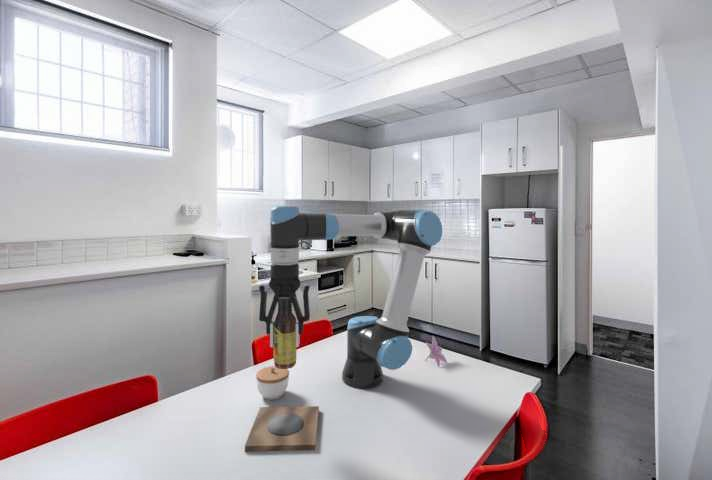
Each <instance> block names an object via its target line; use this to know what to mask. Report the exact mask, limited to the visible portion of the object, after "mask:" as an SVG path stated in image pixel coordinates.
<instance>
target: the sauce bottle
mask: <svg viewBox="0 0 712 480" xmlns="http://www.w3.org/2000/svg"><path fill="white" fill-rule="evenodd" d="M277 301H278V303H277V314H276V316H275V319H274V321H275V322H274V327H273V329H274V346H273V362H274V366H276V368H278V369H288V370H289V369H291V368H293V367H295V366H296V364H297V347H296V322H297V317H296V315H295V314H294V313H293V305H292V301H291V300H290V297H278V300H277Z"/></svg>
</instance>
